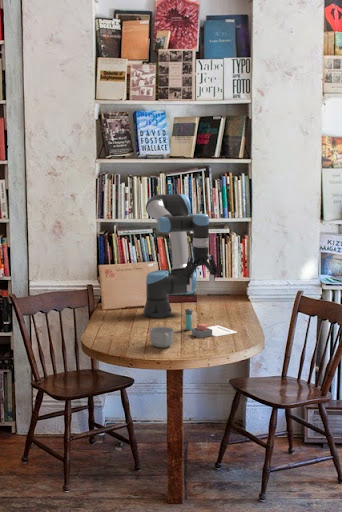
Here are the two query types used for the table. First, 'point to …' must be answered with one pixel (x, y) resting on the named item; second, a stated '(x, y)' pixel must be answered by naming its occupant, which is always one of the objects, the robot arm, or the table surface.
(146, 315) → the robot arm
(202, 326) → the button
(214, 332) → the paper
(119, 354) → the table surface
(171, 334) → the teacup
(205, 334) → the button housing
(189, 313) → the marker
